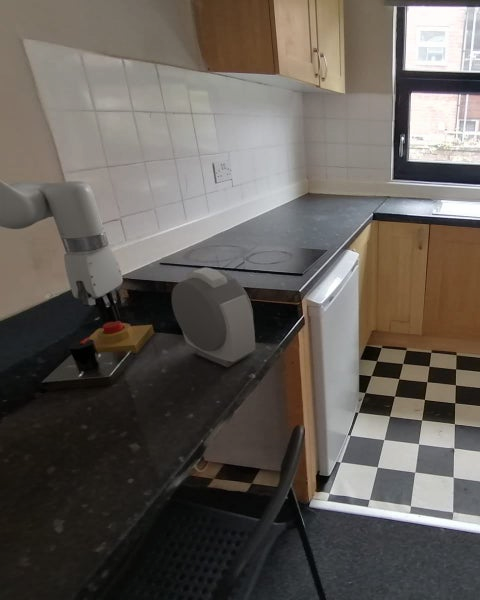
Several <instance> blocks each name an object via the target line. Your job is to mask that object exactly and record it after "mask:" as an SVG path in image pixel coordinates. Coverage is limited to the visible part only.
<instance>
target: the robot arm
mask: <svg viewBox="0 0 480 600" xmlns="http://www.w3.org/2000/svg"><path fill="white" fill-rule="evenodd" d="M48 218H53V219H54V222H55V225H56V228H57V231H58V234H59V236H60V240H61V242H62V246H63V247H64V250H65V253H64V254H63V258H64V259H63V261H64V268H65V273H66V276H67V280H68V284H69V288H70V290H71V293H72V296H73V297H74V298H75V299H77V300H78V299H81V300H82V304H83V306H84V307H87V306H88V307H91V306H94V307H95V308H97V310H98V313H99V316H100V318H101V321H102V322H103V323H108V322H116V321H120V319H121V315H120V311H119V308H118V305H117V302H118V297H117V294H118V292H119V290H120V289H121V288H122V283H123V281H124V279H123V274H122V271H121V267H120V265H119V262H118V260H117V258H116V255H115V253H114V251H113V249H112V247H111V245H110V244H109V240H108V237H107V233H106V231H105V228H104V224H103V222H102V218H101V215H100V212H99V207H98V204H97V201H96V198H95V195H94V191H93V189H92V187H91V186H90V184H89V183H87V182H84V181H79V180H73V181H72V180H70V181H59V182H58V181H57V182H39V181H38V182H37V181H20V182H19V181H18V182H15V183H12V184H8V183H6V182H4V180H1V179H0V227H1V228H5V229H9V230H22V229H26V228H29V227H31V226H33V225H34V224H36V223H39V222H41V221H43V220H45V219H48Z"/></svg>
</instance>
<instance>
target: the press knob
mask: <svg viewBox="0 0 480 600" xmlns="http://www.w3.org/2000/svg"><path fill="white" fill-rule="evenodd" d="M122 323H123V322H122V321H121V320H117V321H116V322H105V323H104V324H103V325H102V328H103V329H104V332H105V334H113V333H117V332H120V331H122V330H123V326H122Z"/></svg>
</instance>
